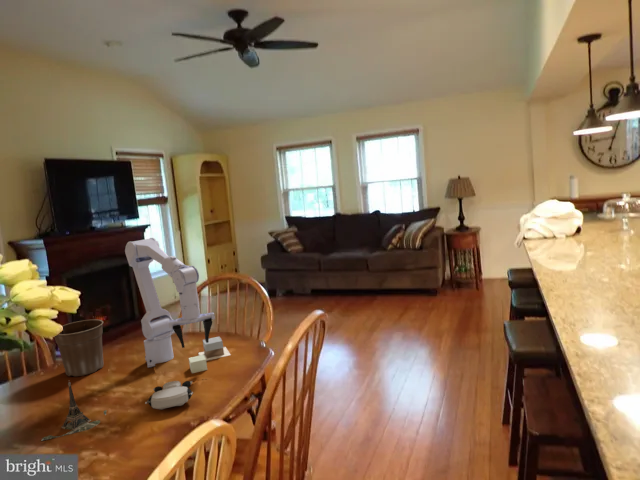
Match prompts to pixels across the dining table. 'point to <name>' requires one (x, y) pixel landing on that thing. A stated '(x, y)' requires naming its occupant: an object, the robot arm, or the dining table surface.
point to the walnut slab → (214, 352)
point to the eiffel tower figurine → (75, 419)
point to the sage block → (197, 363)
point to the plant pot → (81, 347)
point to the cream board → (226, 353)
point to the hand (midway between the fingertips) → (195, 344)
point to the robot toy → (170, 395)
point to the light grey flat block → (213, 344)
